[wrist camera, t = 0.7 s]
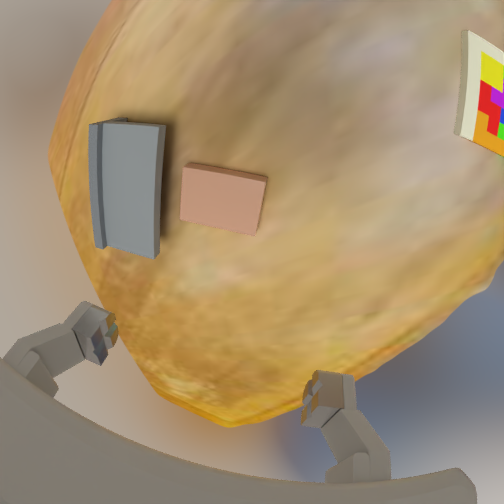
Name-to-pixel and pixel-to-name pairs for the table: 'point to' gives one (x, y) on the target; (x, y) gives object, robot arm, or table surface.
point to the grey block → (126, 184)
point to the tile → (222, 198)
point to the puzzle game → (481, 94)
